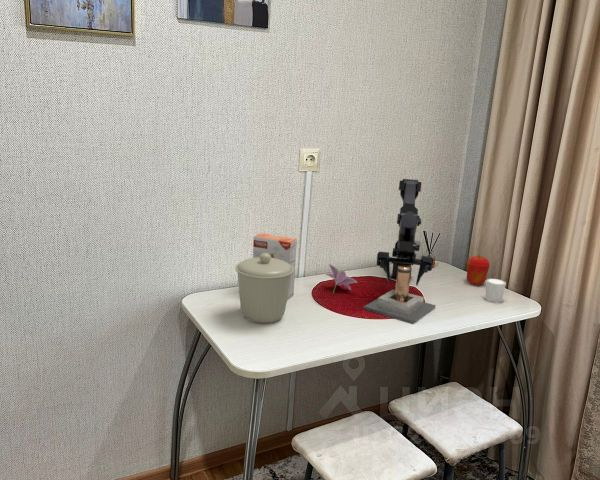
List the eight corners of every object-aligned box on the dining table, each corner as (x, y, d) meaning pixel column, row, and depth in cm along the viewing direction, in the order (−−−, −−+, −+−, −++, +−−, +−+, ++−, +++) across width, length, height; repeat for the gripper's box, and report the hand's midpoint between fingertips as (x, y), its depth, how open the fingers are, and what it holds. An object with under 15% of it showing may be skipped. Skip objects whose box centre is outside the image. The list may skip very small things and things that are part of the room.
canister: (271, 334, 170) (274, 266, 164) (222, 319, 178) (223, 254, 173) (301, 314, 185) (305, 252, 180) (254, 302, 194) (257, 241, 188)
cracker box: (250, 293, 201) (252, 235, 196) (258, 288, 207) (260, 231, 201) (287, 300, 196) (290, 241, 191) (294, 295, 202) (297, 237, 196)
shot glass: (500, 297, 212) (503, 279, 210) (505, 303, 205) (508, 285, 203) (481, 295, 212) (484, 277, 211) (485, 302, 206) (488, 283, 204)
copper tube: (391, 303, 196) (395, 265, 192) (402, 302, 198) (406, 264, 194) (398, 308, 192) (402, 269, 188) (409, 307, 194) (414, 268, 190)
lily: (357, 299, 204) (364, 274, 206) (331, 290, 199) (338, 263, 201) (339, 298, 215) (346, 274, 216) (313, 289, 209) (320, 264, 211)
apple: (468, 278, 231) (472, 250, 228) (489, 283, 226) (493, 254, 223) (461, 283, 224) (465, 254, 221) (482, 288, 219) (486, 259, 216)
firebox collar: (363, 309, 193) (364, 298, 192) (388, 295, 207) (389, 284, 206) (413, 323, 183) (414, 312, 182) (435, 308, 197) (436, 297, 196)
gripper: (379, 228, 194) (375, 269, 186) (436, 233, 191) (434, 275, 183) (378, 244, 203) (374, 284, 196) (432, 250, 200) (430, 290, 193)
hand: (402, 283), depth 192 cm, fingers open, 9 cm apart
